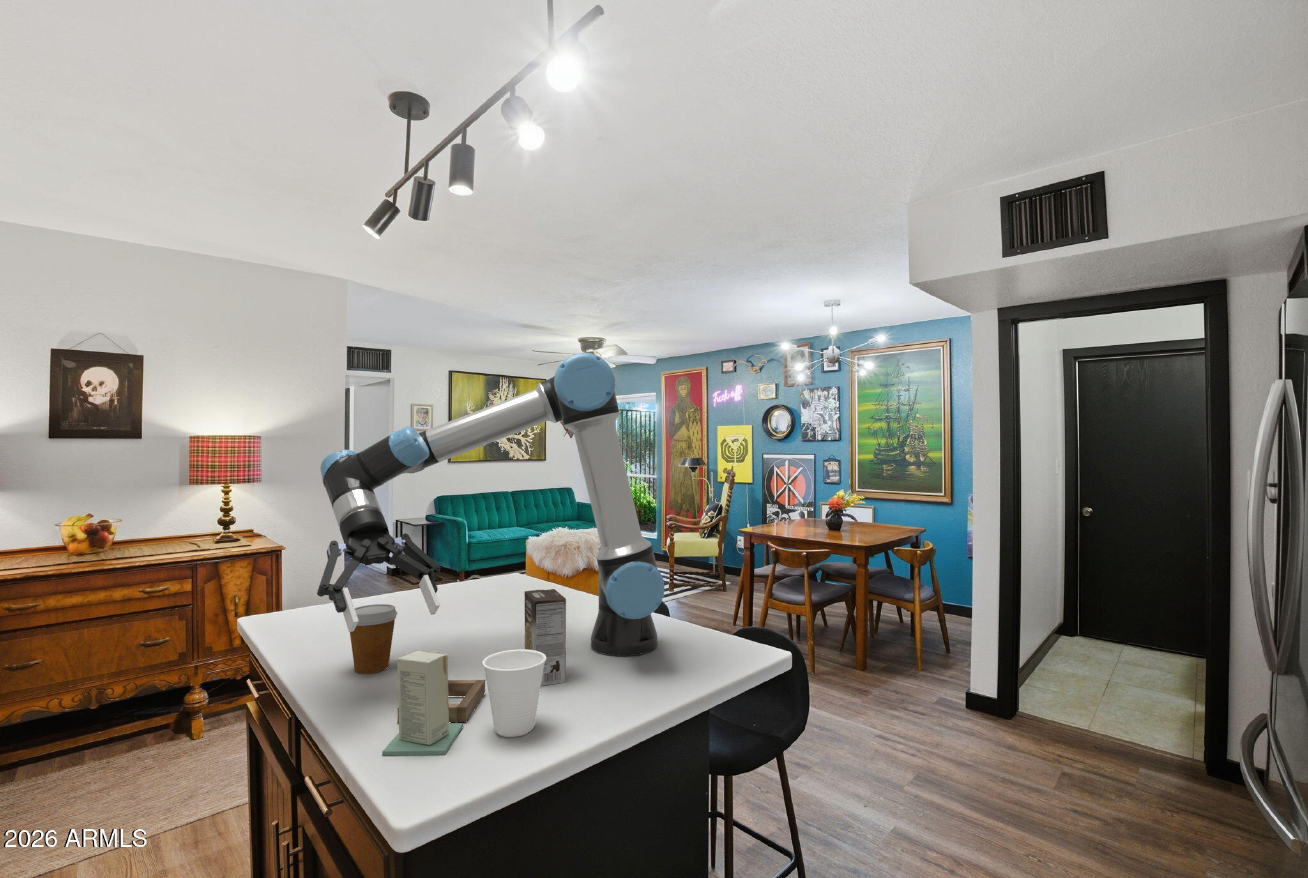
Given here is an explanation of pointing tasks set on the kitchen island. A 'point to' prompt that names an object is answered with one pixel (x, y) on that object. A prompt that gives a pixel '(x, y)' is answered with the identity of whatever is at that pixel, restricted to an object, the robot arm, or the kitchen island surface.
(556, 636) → the coffee box
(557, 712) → the kitchen island surface
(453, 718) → the wooden square frame
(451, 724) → the rubber mat
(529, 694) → the cup
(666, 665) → the kitchen island surface
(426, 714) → the skincare box
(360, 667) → the disposable coffee cup
